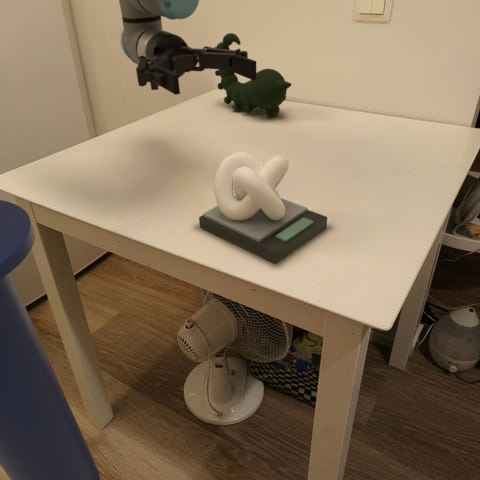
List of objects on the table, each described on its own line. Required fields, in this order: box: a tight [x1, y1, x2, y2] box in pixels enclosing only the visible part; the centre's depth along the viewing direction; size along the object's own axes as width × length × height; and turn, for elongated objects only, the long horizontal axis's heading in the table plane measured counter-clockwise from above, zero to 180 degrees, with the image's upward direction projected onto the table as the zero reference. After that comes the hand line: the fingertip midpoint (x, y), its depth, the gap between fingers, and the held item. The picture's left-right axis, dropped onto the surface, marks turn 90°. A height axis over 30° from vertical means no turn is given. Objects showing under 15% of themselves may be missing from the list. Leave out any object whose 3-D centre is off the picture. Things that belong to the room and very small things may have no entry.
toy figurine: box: [213, 32, 292, 119], centre depth 114 cm, size 9×19×25 cm
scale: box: [198, 195, 328, 265], centre depth 72 cm, size 16×13×3 cm
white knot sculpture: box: [213, 151, 290, 220], centre depth 70 cm, size 11×12×9 cm
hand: (217, 77), depth 70 cm, fingers open, 13 cm apart
